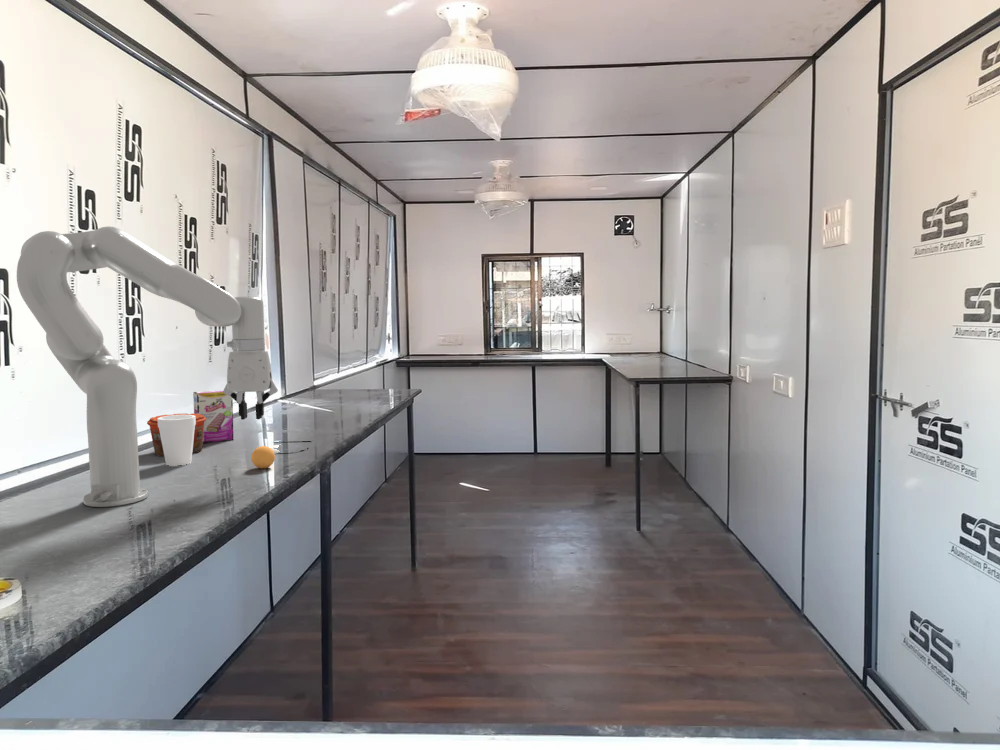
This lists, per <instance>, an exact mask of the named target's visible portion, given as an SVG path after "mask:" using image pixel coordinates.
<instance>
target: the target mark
mask: <svg viewBox="0 0 1000 750" xmlns="http://www.w3.org/2000/svg"><path fill="white" fill-rule="evenodd" d="M279 445H280V444H275V445H274V444H273V445H269V447H274V448H278V447H279ZM271 449H272V450H273V452H274V453H278V452H280V451H279V450H277V449H273V448H271Z"/></svg>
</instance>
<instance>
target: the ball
mask: <svg viewBox="0 0 1000 750" xmlns="http://www.w3.org/2000/svg"><path fill="white" fill-rule="evenodd" d="M275 460H276V454H274V452H273V450H272V449H271V448H269V447H268V445H267V446H266V445H262V446H260V445H259V446H258V447H256V448H255V449H254V450H253V451H252V453H251V463H252V464H253V466H254V467H256V468H258V469H262V470H263V468H264V469H267V468H269V467H271V466H272V465H273V464H274V462H275Z"/></svg>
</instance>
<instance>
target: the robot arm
mask: <svg viewBox="0 0 1000 750" xmlns="http://www.w3.org/2000/svg"><path fill="white" fill-rule="evenodd" d="M103 268H105V269H106V268H108V269H109V270H111V271H113V272H115V273H117V274H118V275H120V276H122V277H124V278H125V279H127V280H129V281H131V282H133V283H135V284H136V285H137V286H139V287H140V288H143V289H144V290H146V291H147V292H149V293H151V294H154V295H155V296H158V297H161V298H165V299H168V300H172V301H175V302H177V303H180V304H182V305H184V306H187V307H188V308H190V309H192V310H194V313H195V316H196V318H197V319H198V321H199V322H200V323H202V324H203V325H205V326H209V327H223V328H224V327H225V328H226V327H231V330H232V331H231V332H232V334H231V335H232V339H231V340H230V341H227V342H226V347H227V348H231V350H232V351H229V353H228V354H229V355H228V359H227V371H226V372H227V373H226V374H227V375H226V384H225V387H224V389H222V390H223V393H225V394H227V395H229V396H231V397H232V398H233V400H234V401H235V402H236V404H238V416H239V417H240V420H245V419H247V418H248V403H247V402H246V393H250V392H252V393H253V392H255V393H256V399H257V401H256V403H255V419H256V420H260V419H262V418H263V416H264V415H265V407H264V406H265V404H264V403H265V401H266V400H267V399H268V398H270V396H273V395H275V394H276V393H278V392H279V390H278V388H277V386H276V384H275V382H274V381H273V375H272V374H273V373H272V366H271V365H272V364H271V361H270V355H269V352H268V351H267V350H266V341H265V316H264V315H265V314H264V313H265V311H264V300H263V299H262V298H261V297H259V296H235V297H234V296H233V295H231V294H230V293H229V292H227V291H225V290H224V289H223V288H221V287H220V286H217V285H216V284H214V283H213V282H211V281H209V280H208V279H206V278H204V277H202V276H200V275H198V274H196V273H194V272H192V271H191V270H188V269H187V268H185V267H183V266H181V265H180V264H177V263H175V262H173V261H172V260H171V259H168V258H167V257H165V256H163V255H162V254H160V253H159V252H157V250H156V251H155V250H154V249H152V248H151V247H149V246H148V245H146V244H145V243H144V242H142V241H140V240H138V239H137V238H135V237H133V236H132V235H130V234H129V233H127V232H125V230H124V231H123V230H122V229H120V228H118V227H115V226H103V227H99V228H97V229H95V230H89V231H82V232H80V231H79V232H71V233H70V232H69V233H59V232H56V231H51V230H46V231H45V230H44V231H40V232H37V233H35V234H33V235H31V237H29V238H27V239H26V240H25V242H24V243H23V244H22V246H21V249H20V255H19V258H18V261H17V267H16V284H17V288H18V292H19V293H20V296H21V298H22V300H23V301H24V303H25V305H26V306H27V308H28V309H29V311H30V312H31V314H33V316H34V318H35V320H36V321H37V322H38V323H39V325H40V326H41V328H42V329H43V331H44V332H45V340H46V344H47V346H48V348H49V350H50V351H51V353H52V354H53V356H54V357H55V358H56V359H57V361H58V362H59V364H60V365H61V366H62V367H63V368H64V370H65V371H66V373H67V374H68V375H69V376H70V377H71V379H72V381H73V382H74V383H75V384H76V385H77V386H78V388H79V389H80V390H81V391H82V392H83V393H84V394H85V395H86V429H87V430H86V431H87V445H88V447H87V448H88V462H89V479H90V492H89V493H86V494H85V495H84V496H83V499H82V501H83V505H85V506H87V507H93V508H107V507H108V508H109V507H118V506H124V505H130V504H133V503H134V504H135V503H137V502H140V501H143V500H145V499H146V498H148V496H149V491H148V489H147V488H143V487H141V481H140V479H141V478H140V461H139V444H138V443H139V441H138V427H137V397H138V395H137V394H138V382H137V377H136V375H135V373H134V371H133V369H132V368H131V367H130V366H129V365H128V364H127V363H125V362H124V361H122V360H119V359H115V358H114V356H113V355H112V354H111V353H110V351H109V350H108V348H106V345H104V336H103V333H102V330H101V328H100V327H99V326H98V325H97V324H96V323H95V321H94V320H93V319H92V318H91V316H90V314H88V312H87V311H86V310H85V308H84V307H83V306H82V304H81V303H80V301H79V300H78V298H77V297H76V295H75V293H74V292H73V291H72V289H71V287H70V285H69V283H68V278H67V277H68V276H67V274H68V273H75V272H83V271H93V270H98V269H103ZM267 390H268V391H267ZM265 391H266V392H265Z"/></svg>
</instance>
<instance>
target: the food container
mask: <svg viewBox="0 0 1000 750" xmlns="http://www.w3.org/2000/svg"><path fill="white" fill-rule="evenodd" d="M171 415H194V416H195V418H196V425H195V430H194V441H193V451H192V455H195V454H197V453H200V452H201V451H202V450H203V444H204V443H203V430H204V422H205V421H206V418H205V417H204V416H203V415H201V414H194V413H173V414H162V415H156V416H153V417H150V418H149V420H147V421H146V422H147V423H146V424H147V425H148V426H149V430H150V431H149V432H150V435H151V436H150V437H151V440H152V445H153V450H154V454H155V455H156V456H158V455H160V456H159V457H165V456H164V451H163V446H162V441H161V436H160V431H159V428H158V420H157V418H159V417H164V416H171ZM194 453H195V454H194Z"/></svg>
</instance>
